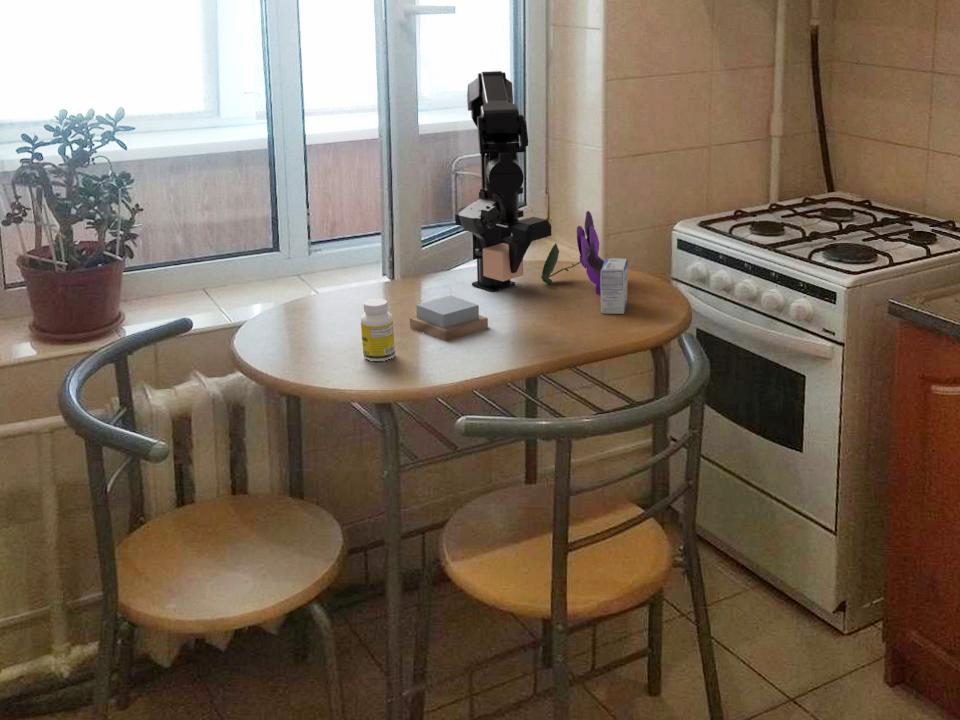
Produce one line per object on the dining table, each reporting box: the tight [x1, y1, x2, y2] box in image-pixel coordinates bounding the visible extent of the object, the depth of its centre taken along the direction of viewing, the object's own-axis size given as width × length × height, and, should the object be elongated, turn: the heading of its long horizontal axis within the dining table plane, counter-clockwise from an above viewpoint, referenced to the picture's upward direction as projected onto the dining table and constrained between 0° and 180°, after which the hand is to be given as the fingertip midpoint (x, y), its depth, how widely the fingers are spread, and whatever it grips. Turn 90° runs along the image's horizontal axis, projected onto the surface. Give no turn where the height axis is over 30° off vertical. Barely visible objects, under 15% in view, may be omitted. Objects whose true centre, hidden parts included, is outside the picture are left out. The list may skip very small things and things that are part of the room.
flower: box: [540, 210, 605, 295], centre depth 223 cm, size 15×15×14 cm
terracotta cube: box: [483, 243, 524, 281], centre depth 197 cm, size 5×5×5 cm
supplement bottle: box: [360, 298, 396, 362], centre depth 187 cm, size 5×5×10 cm
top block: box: [415, 295, 480, 328], centre depth 201 cm, size 8×8×2 cm
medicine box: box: [600, 257, 629, 315], centre depth 209 cm, size 8×4×9 cm, turn 168°
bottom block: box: [409, 314, 489, 342], centre depth 202 cm, size 10×10×2 cm
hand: (503, 269), depth 198 cm, fingers closed on terracotta cube, 5 cm apart
